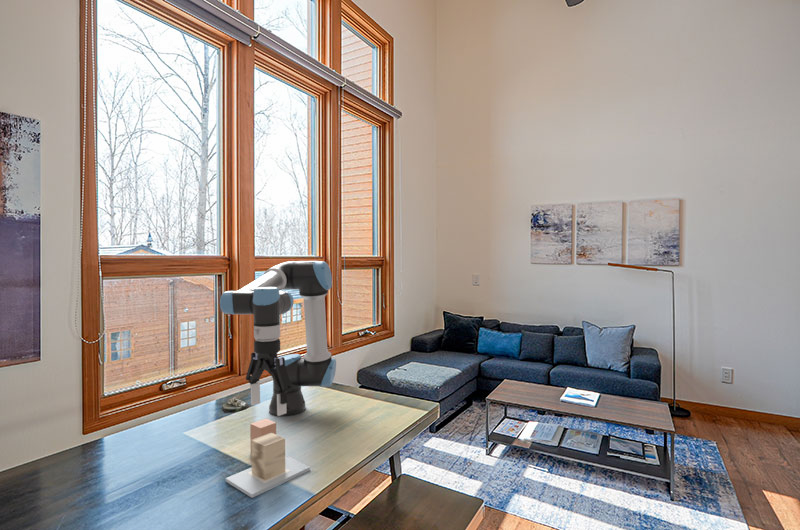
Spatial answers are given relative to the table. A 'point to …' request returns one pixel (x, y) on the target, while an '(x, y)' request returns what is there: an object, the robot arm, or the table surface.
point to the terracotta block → (262, 428)
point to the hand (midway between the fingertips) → (268, 409)
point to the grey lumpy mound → (234, 405)
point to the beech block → (268, 455)
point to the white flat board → (257, 485)
